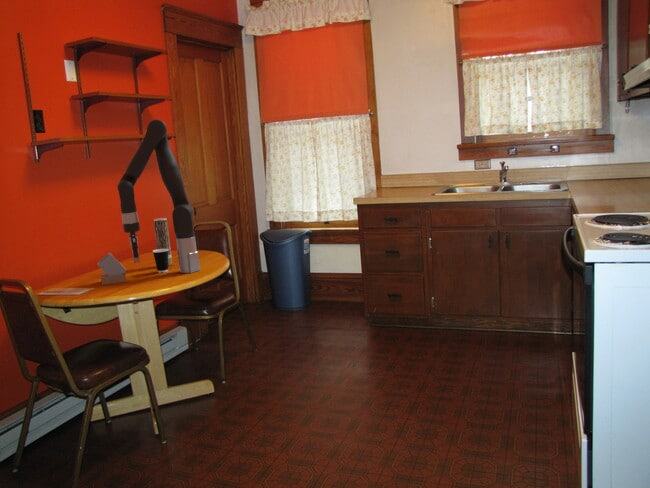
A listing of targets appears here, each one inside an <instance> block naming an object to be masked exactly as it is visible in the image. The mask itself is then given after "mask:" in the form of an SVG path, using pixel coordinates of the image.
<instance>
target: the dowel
mask: <svg viewBox="0 0 650 488" xmlns="http://www.w3.org/2000/svg"><path fill="white" fill-rule="evenodd" d="M131 243H132V242H131ZM130 246H131V245H130ZM137 246H138V247H139V244H138V245H137ZM133 247H136V245H134V246H133ZM131 252H132V260H133V263H134V264H137V263H140V262H141V259H140V252H139V250H138V255H139V257H138V258H134V254H133V250H132V246H131Z"/></svg>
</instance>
